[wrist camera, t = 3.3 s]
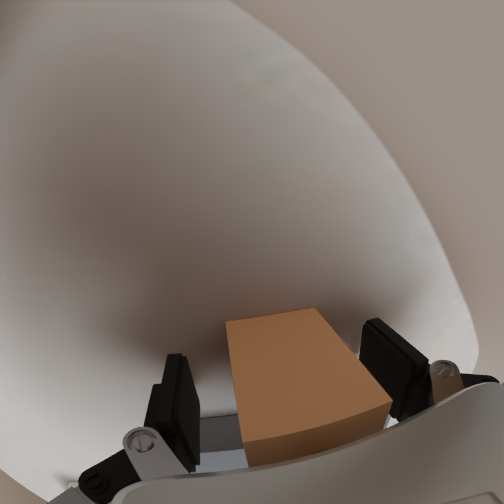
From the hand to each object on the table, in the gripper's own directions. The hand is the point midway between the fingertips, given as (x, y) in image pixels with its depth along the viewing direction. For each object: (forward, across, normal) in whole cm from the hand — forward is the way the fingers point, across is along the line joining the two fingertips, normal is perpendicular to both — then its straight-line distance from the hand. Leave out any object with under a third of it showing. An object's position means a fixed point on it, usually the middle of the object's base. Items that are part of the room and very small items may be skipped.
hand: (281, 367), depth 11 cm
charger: (+1, 0, 0) cm, 1 cm away
